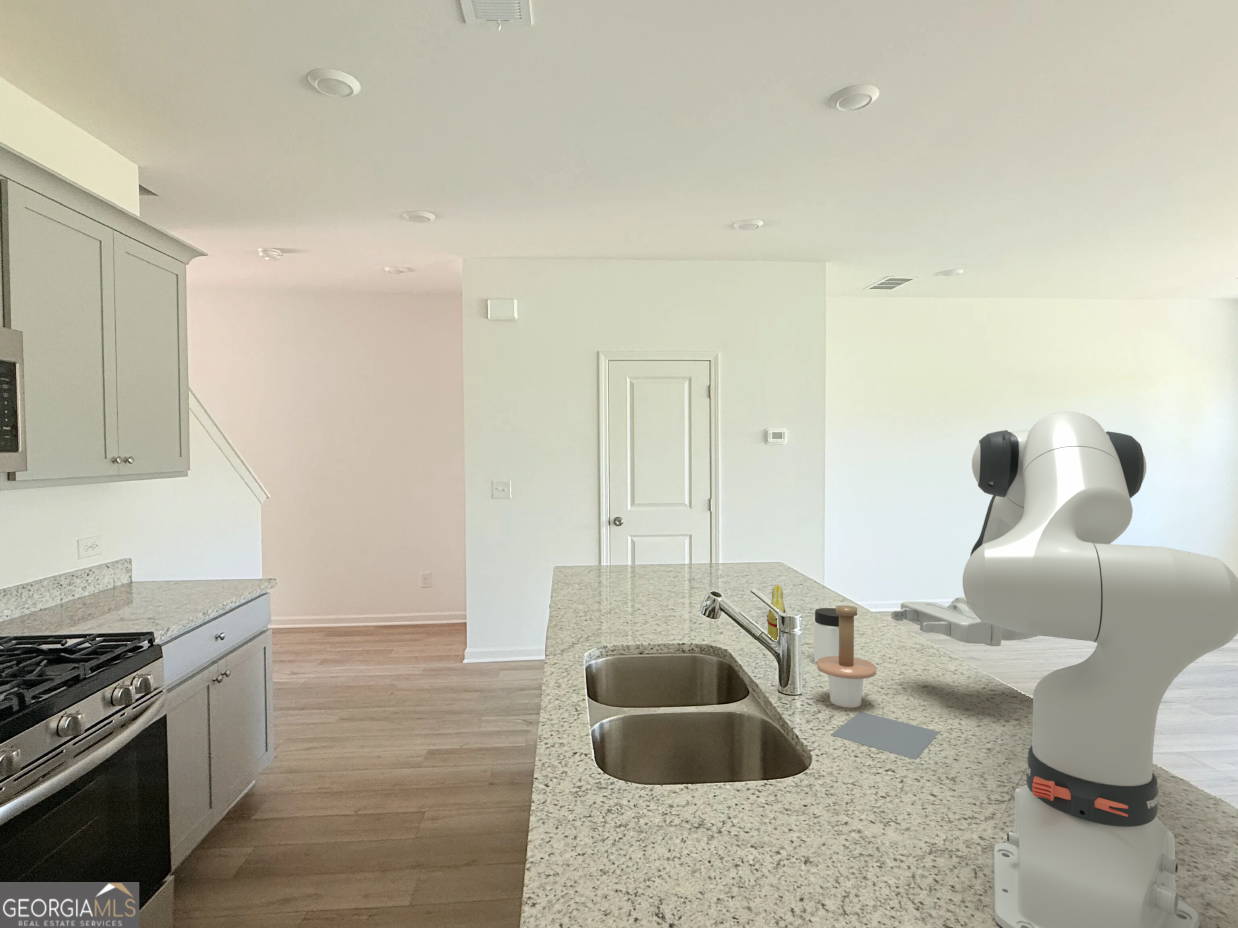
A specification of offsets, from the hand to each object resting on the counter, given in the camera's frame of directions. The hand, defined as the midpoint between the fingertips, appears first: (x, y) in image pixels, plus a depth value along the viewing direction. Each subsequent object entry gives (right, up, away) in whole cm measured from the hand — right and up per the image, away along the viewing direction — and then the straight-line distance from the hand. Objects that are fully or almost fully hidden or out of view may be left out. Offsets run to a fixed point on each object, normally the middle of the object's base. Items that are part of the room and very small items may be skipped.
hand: (907, 621), depth 130 cm
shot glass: (-13, -17, -1) cm, 21 cm away
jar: (-6, -16, +27) cm, 32 cm away
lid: (-12, -9, -1) cm, 16 cm away
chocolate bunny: (-15, -16, +43) cm, 48 cm away
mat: (-11, -16, -16) cm, 25 cm away
